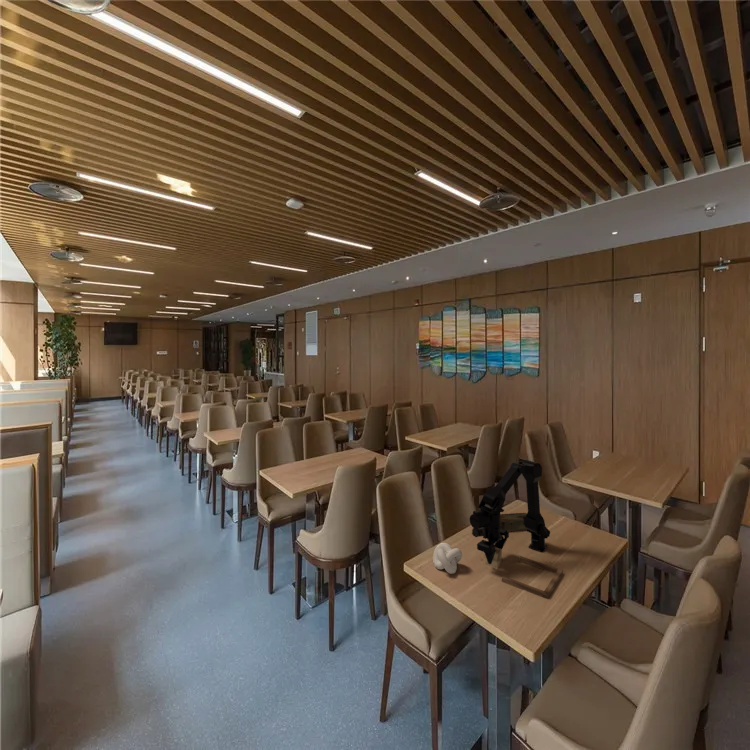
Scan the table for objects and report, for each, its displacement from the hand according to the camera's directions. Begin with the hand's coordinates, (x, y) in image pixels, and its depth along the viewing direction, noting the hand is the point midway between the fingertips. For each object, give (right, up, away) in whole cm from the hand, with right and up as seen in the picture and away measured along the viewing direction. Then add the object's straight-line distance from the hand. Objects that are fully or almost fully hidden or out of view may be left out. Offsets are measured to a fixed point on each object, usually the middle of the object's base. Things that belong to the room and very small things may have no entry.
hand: (493, 560), depth 153 cm
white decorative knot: (-20, -2, -2) cm, 21 cm away
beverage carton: (+20, -1, +32) cm, 38 cm away
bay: (+11, -2, -10) cm, 15 cm away
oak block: (0, -2, 0) cm, 2 cm away
